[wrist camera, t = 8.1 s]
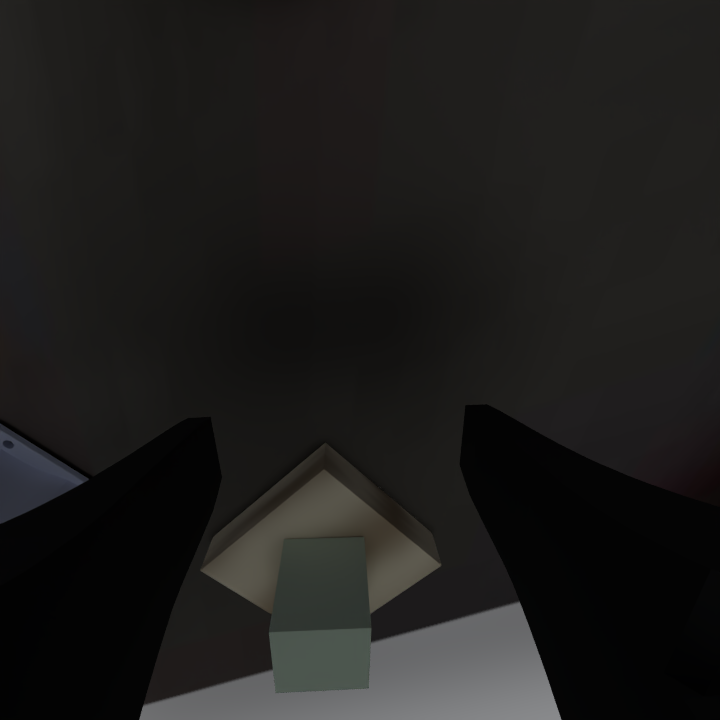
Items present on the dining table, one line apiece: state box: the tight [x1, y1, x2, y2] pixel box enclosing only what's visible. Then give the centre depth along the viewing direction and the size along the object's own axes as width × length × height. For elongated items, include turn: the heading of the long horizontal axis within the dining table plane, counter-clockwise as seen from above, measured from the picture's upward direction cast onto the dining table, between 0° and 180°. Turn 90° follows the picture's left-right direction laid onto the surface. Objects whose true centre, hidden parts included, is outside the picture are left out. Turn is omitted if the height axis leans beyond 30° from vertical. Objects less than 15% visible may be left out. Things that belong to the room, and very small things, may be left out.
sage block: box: [269, 537, 371, 693], centre depth 20 cm, size 4×4×5 cm
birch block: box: [200, 443, 441, 614], centre depth 24 cm, size 10×10×3 cm
